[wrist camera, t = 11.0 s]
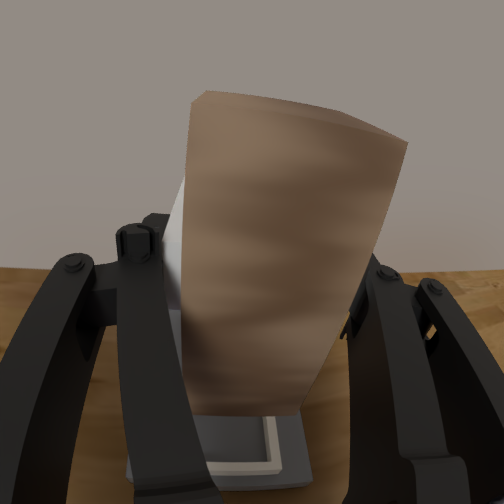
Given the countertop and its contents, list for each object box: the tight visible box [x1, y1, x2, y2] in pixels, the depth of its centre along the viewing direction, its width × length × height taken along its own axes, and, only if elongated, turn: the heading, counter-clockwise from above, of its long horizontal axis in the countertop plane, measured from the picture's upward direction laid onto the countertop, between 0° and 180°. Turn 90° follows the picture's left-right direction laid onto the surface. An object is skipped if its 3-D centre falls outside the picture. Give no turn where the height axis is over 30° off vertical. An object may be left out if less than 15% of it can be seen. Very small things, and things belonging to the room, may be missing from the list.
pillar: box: [181, 91, 408, 417], centre depth 11 cm, size 5×5×12 cm
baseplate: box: [126, 309, 313, 491], centre depth 20 cm, size 12×18×14 cm, turn 4°
